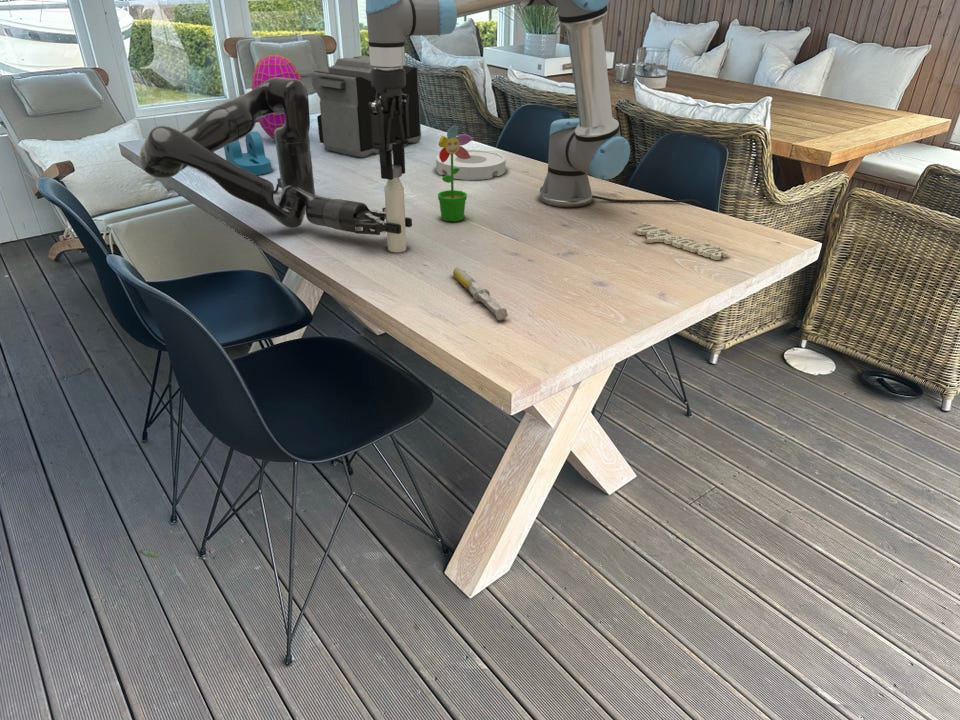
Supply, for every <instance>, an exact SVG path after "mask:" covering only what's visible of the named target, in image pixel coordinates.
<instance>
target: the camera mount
mask: <svg viewBox="0 0 960 720" xmlns="http://www.w3.org/2000/svg"><path fill="white" fill-rule="evenodd" d="M244 138H245V146H246V152H243V151H242V150H243V149H242V146H241V142H240V139H239V140H238V141H236V142H234V143H231V144H229V145H227V146H225V147H223V149H224V150H223V151H224V156H225V160H226V161H228V162H230V163H232V164H233V165H235V166H237V167H239V168H241V169H243V170H245V171H248V172H250V173H252V174H254V175H257V176H260V175H265V174H268V173H271V172H272V164H271V159H270V158H268V157H267V156H266V153H265V145H264V141H263V139H262V136H261V134H260V132H258V131H251V132H250V133H249V134H248V135H247V136H245V137H244Z"/></svg>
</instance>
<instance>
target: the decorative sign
mask: <svg viewBox="0 0 960 720" xmlns="http://www.w3.org/2000/svg"><path fill="white" fill-rule="evenodd" d="M636 234H637V235H640V236H645V237H646V243H647V244H653V243H663V244H666V245H671V246H672V247H675V248H678V249H682V250H684V251H688V252H689V253H695V254H697V255H699V256H703V257H705V258H711V259H712V260H715V261H720V260H721V259H722V258H727V256H728V252H727V251H724V250H721V246H720V245H711V243H710V242H697V243H696V242H695V240H694V239H693V238H691V237H685V236H683V235H679V236H675V235H673V234H669V233H668V228H667V227H659V228H656V224H653V223H647V222H646V223H645V222H643V223H642V226H641V227H639V228H637V229H636Z"/></svg>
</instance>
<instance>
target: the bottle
mask: <svg viewBox="0 0 960 720" xmlns="http://www.w3.org/2000/svg"><path fill="white" fill-rule="evenodd" d="M384 203H385V205H384V206H385V208H386V220H385V222H386V223H387V222H389V223H395V224H400V225H401V233H400V234H395V233H390V232H386V238H387V251H389V252H391V253H404V252H405V251H406V250H407V229H406V228H407V227H406V226H405V217H406V209H405V204H406V203H405V187H404V185H403V183H402V181H401V179H400V177H398V178H393V179H392V180H388V179H387V180H386V183H385V185H384Z"/></svg>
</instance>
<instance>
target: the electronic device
mask: <svg viewBox="0 0 960 720" xmlns="http://www.w3.org/2000/svg"><path fill="white" fill-rule="evenodd" d="M372 68H373V67H372V66H371V65H370V56H367V55H356V56H353V57H350V58H349V57H343V58H342V57H341V58H337V59H336V60H335V63H334V64H333V65H330V66H329V67H328V72H327V71H320V70H314V71H313V70H312V71H310V79H311V87H313V90H314V91H315V93H316V94H317V96H318V98H319V110H320V111H319V112H320V114H319V115H317V116H316V119H317V128H318V138H319V143H320V144H323V146H324V149H325V150H327V151H330V152H335V153H340V154H344V155H348V156H353V157H357V158H362V159H363V158H366V157H367V158H368V157H369V155H371V154H375V155H377V154H379V150H375V149H373V146H372V130H371V114H370V110H369V106H368V104H369V102H374V101H375V100H376V89H375V88H374V87H372V86H371V75H370V70H371V69H372ZM403 68H404V70H405V75H406V85H405V87H403V88H401V90H402V94H408V95H409V103H408V112H409V135H410V137H409V139H407V140H408V141H409V143H408V144H416V143H418V142H419V141H421V137H422V128H421V97H420V92H419V91H420V89H419V68H418V67H417V66H408V65H405V66H403ZM386 115H388V114H386ZM392 144H396V143H395V142H394V137H393V132H392V126H391V129H390V143H389V150H393V149H392ZM408 144H404V147H405V146H407V145H408Z"/></svg>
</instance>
